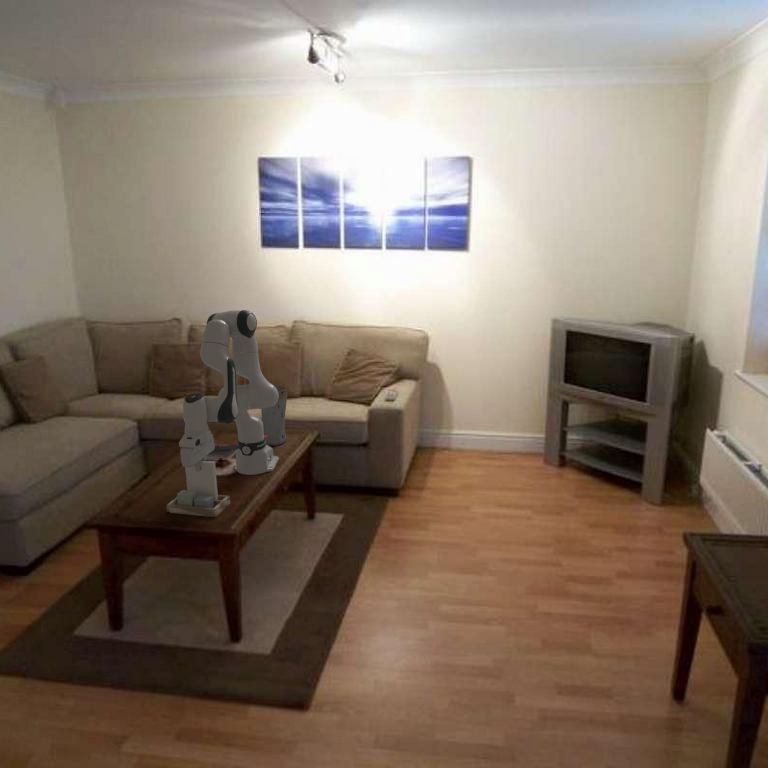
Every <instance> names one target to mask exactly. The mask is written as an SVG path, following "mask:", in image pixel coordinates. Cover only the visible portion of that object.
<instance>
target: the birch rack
mask: <svg viewBox="0 0 768 768" xmlns="http://www.w3.org/2000/svg"><path fill="white" fill-rule="evenodd" d="M213 501H214V508H205V507H194V506H184V505H178V500H177V496H176V497H175V498H173V499H172V500H171V501H169V503H167V504H166V507H165V508H166V513H167V512H170V513H169V514H177V515H179V514H180V515H191V516H202V517H211V518H216V517H217V516H218V515H219V514H221V513H222V512H223V511H224V510H225V509H226V508H227V507H228V506H229V505H230V504H231V495H224V494H218V500H214V499H213Z"/></svg>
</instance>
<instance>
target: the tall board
mask: <svg viewBox="0 0 768 768" xmlns="http://www.w3.org/2000/svg"><path fill="white" fill-rule="evenodd" d="M199 465H200V466H201V470H200V471H199V472H197V471H195V467H194V466H192V467H184V468H185V470H184V471H185V479H186V490H187V491H196V494H197V496H199V495H202V496H213V499H214V500H218V495H219V491H218V484H217V481H218V480H217V471H216V469H217V468H216V460H206V461H202V460H200V461H199Z"/></svg>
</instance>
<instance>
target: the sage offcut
mask: <svg viewBox="0 0 768 768" xmlns="http://www.w3.org/2000/svg"><path fill="white" fill-rule="evenodd" d="M176 497H177V500H178V505H184V506H194V499H195V498H196V497H197V494H196V491H187V489H186V490H185V489H184V490H183V489H182V490H180V491H179V492H177V494H176ZM194 507H195V506H194Z"/></svg>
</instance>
